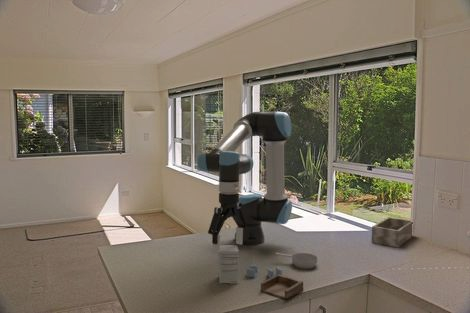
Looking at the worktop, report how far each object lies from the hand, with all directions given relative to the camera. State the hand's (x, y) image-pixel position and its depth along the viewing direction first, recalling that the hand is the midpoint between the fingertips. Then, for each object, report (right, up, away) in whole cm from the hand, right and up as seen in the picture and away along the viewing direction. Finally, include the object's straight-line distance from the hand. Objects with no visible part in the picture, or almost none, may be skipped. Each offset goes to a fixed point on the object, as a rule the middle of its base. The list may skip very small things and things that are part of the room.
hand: (228, 248), depth 157 cm
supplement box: (0, -13, +2) cm, 13 cm away
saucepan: (+29, -11, +20) cm, 36 cm away
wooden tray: (+20, -14, -8) cm, 25 cm away
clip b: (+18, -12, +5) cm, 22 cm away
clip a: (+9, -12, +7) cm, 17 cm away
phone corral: (+84, -8, +57) cm, 102 cm away
